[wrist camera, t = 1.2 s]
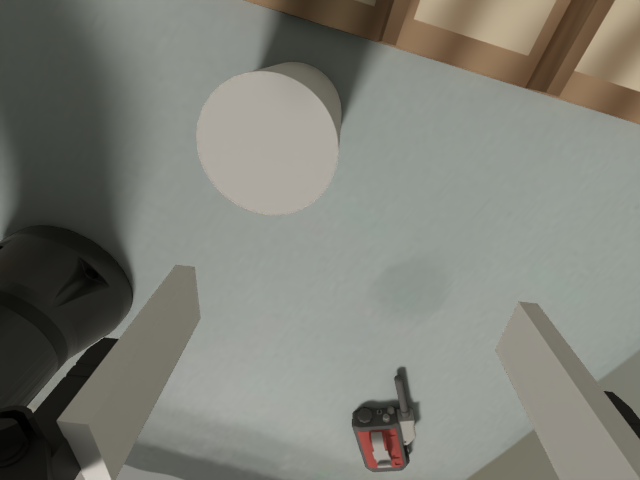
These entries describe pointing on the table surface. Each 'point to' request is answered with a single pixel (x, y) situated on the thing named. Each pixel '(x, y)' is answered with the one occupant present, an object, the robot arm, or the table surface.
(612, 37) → the frame
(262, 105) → the white cylinder
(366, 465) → the walkie-talkie
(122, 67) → the table surface
